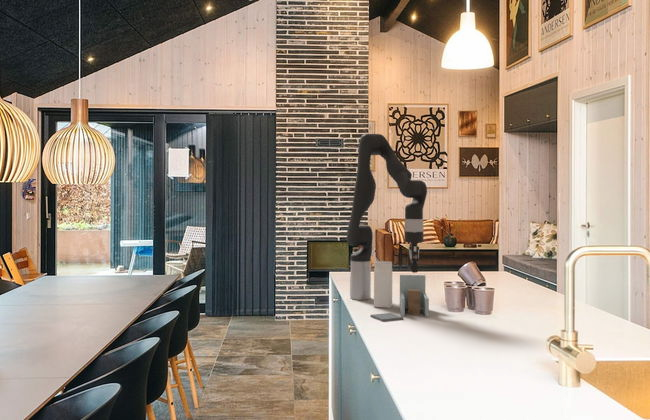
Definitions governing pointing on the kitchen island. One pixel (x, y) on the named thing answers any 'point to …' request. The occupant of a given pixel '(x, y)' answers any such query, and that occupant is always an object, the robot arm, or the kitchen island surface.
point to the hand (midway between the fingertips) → (413, 271)
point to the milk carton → (383, 284)
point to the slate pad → (386, 317)
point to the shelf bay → (413, 284)
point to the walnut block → (413, 301)
